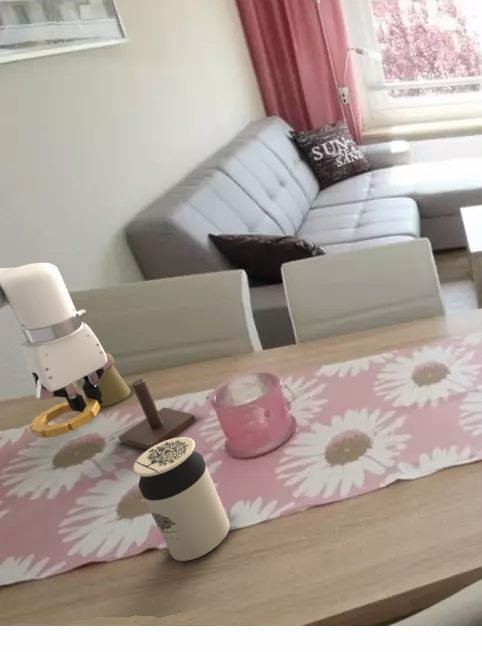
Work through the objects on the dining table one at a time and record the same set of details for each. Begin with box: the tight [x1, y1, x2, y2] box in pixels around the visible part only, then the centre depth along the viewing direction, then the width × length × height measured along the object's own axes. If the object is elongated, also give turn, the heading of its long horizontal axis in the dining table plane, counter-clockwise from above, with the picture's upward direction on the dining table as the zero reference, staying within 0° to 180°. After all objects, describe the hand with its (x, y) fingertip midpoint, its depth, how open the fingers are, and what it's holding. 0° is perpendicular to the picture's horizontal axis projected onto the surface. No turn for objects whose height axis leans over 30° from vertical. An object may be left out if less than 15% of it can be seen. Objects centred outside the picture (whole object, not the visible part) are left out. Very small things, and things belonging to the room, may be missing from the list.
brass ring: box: [28, 396, 101, 439], centre depth 103 cm, size 9×9×2 cm
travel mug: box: [132, 436, 231, 562], centre depth 84 cm, size 8×8×18 cm
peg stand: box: [118, 378, 197, 451], centre depth 109 cm, size 9×9×12 cm
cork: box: [98, 352, 132, 407], centre depth 120 cm, size 6×6×11 cm
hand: (88, 406), depth 107 cm, fingers closed on brass ring, 1 cm apart
